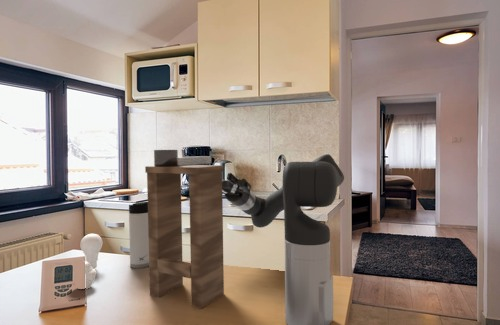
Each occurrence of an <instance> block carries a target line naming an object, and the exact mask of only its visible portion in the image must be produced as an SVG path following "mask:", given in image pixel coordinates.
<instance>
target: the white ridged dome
mask: <svg viewBox="0 0 500 325" xmlns="http://www.w3.org/2000/svg"><path fill="white" fill-rule="evenodd" d="M84 262H85V274H86V289H85V290H88V288H89V289H90V288H91V287H92V286H93V284H94V281H95V279H96V276H97V271H96V270H95V269H96V268H95V269H93V268H92V267H91V264H90V263H89V262H87V261H84Z"/></svg>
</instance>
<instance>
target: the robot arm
mask: <svg viewBox="0 0 500 325" xmlns="http://www.w3.org/2000/svg"><path fill="white" fill-rule="evenodd" d="M344 180H345V175H344V173H343V171H342V170H341V168H340V167H339V165H338V164H337V162H336V161H335V159H334V158H333V157H332V155H331V154H327V153H326V154H324V155H320V156H318V157H317V158H315V159H313V160H312V161H289V162H288V163H286V164H285V166H284V167H283V172H282V186H281V187H280V188H279V189H277V190H276V191H274V192H272V193H271V194H270V195H268V197H266V199H264V198H261V197H259V196H257V195H255V194H254V192H253V191H252V190H251V189H252V185H251V184H250V183H249V182H248V181H247V179H245V178H241V179H240V178H239V177H237V176H235V175H234V174H233V173H231V172H228V173H227V176H226V180H225V179H223V178H222V194H224V197H225V199H226V201H228V202H230V203H231V204H232V205H234V206H235V207H236V208H238V209H239V210H241V211H242V212H243V213H245V214H247V215H249V216H250V217H251V222H252V224H253V225H254V226H255V228H265V227H267V226H269V225H270V224H271V223H272V222H273V221H274V220H275V219H276V218H277V217H278V215H279V214H280V213H281V212H282V211H283V214H284V215H283V220H284V221H283V222H284V224H283V226H284V306H285V307H284V315H285V316H284V317H285V318H284V319H285V323H286V324H287V325H331V324H332V322H333V321H334V275H333V274H331V232H330V230H331V229H330V227H329V225H327V224H326V223H323V222H321V221H319V220H316V219H314V218H312V217H311V216H309V215H307V214H306V213H305V212H304V211H303V210H302V207H303V208H306V207H307V208H309V207H310V208H326V207H329V206H332V204H333V203H334V202H335V200H336V197H337V193H338V187H340V185H342V184H343V182H344Z"/></svg>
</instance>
